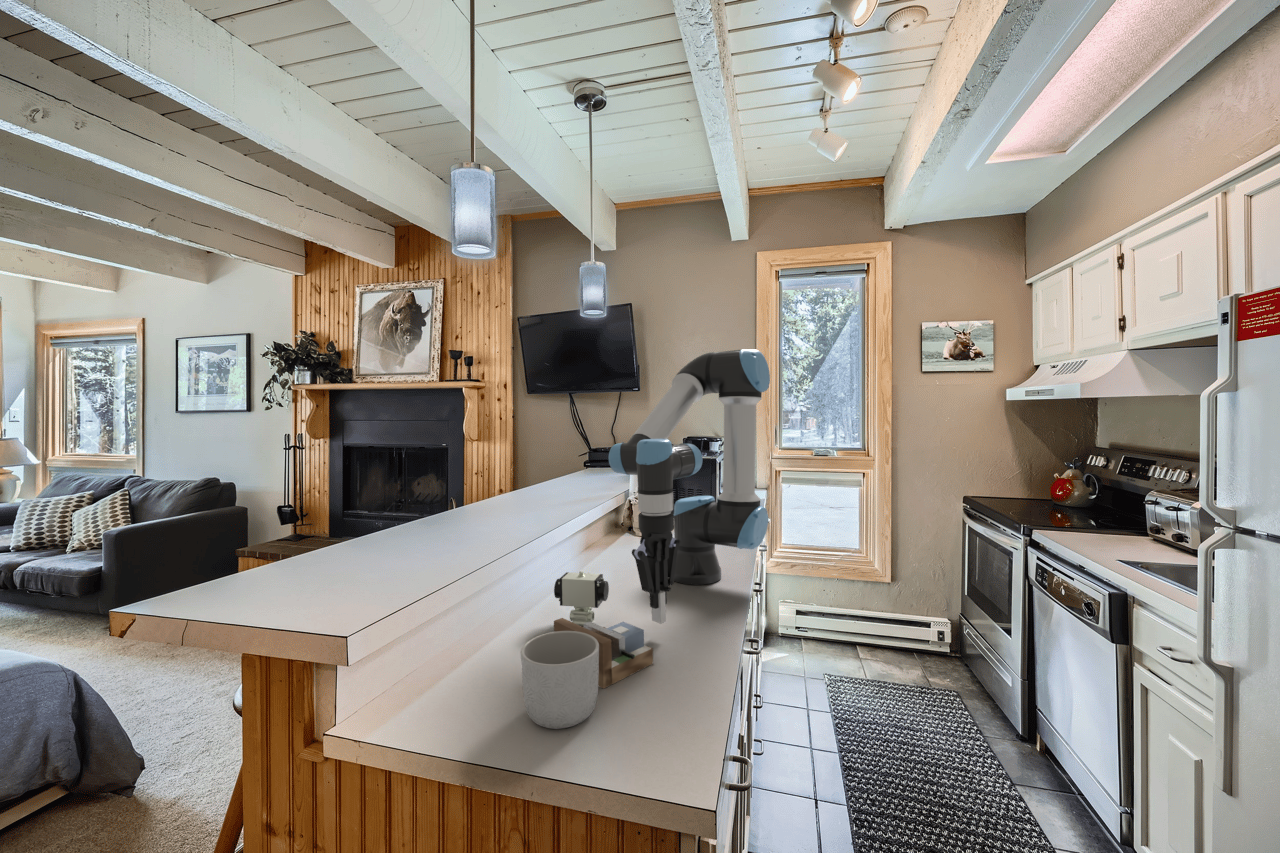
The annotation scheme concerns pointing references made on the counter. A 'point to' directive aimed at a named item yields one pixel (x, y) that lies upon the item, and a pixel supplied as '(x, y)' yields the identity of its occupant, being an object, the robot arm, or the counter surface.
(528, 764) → the counter surface
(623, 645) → the grey flat panel
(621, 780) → the counter surface
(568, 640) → the planter
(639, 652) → the gauge frame
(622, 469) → the robot arm
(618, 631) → the blue block
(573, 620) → the pneumatic valve
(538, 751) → the counter surface
